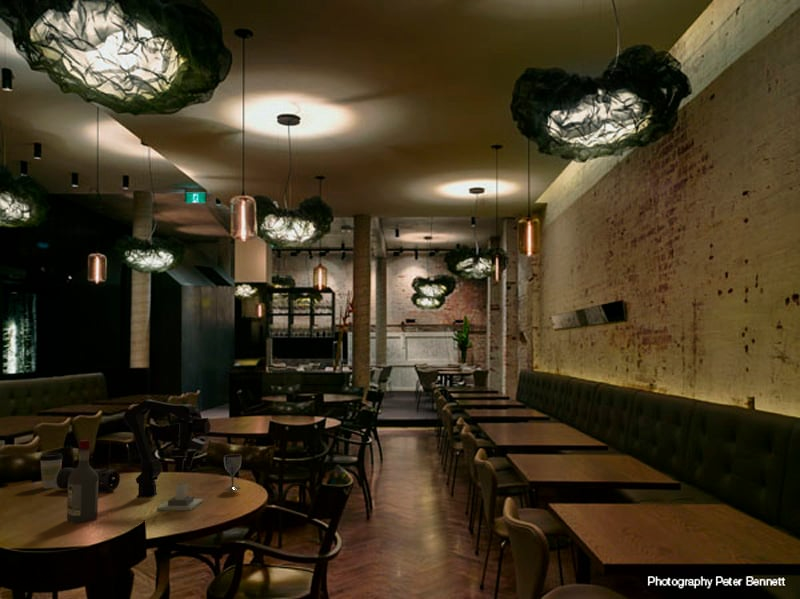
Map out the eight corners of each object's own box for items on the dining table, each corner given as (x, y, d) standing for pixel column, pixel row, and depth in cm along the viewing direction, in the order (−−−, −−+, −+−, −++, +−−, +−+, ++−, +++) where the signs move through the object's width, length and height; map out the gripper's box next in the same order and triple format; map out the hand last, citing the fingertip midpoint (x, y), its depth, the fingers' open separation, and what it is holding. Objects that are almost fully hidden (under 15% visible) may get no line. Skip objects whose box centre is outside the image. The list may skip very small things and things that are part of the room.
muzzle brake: (106, 495, 275) (107, 471, 276) (52, 492, 280) (52, 469, 281) (120, 490, 284) (120, 467, 285) (67, 487, 290) (68, 465, 290)
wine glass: (230, 491, 280) (231, 458, 281) (219, 489, 284) (220, 456, 285) (244, 488, 286) (245, 455, 287) (234, 485, 291) (234, 453, 292)
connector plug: (175, 504, 254) (175, 483, 255) (178, 502, 258) (179, 481, 258) (183, 504, 254) (183, 483, 255) (186, 502, 258) (187, 481, 258)
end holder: (157, 510, 249) (157, 502, 249) (171, 501, 263) (171, 494, 263) (191, 510, 248) (191, 502, 249) (203, 501, 262) (203, 494, 263)
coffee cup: (33, 488, 288) (34, 456, 289) (50, 484, 297) (51, 452, 298) (50, 489, 285) (51, 457, 286) (67, 485, 295) (68, 453, 296)
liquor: (89, 515, 243) (91, 438, 245) (99, 519, 237) (101, 440, 239) (64, 520, 236) (66, 440, 238) (75, 524, 230) (77, 443, 232)
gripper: (195, 436, 262) (195, 473, 261) (211, 430, 281) (210, 465, 280) (170, 436, 263) (169, 473, 262) (187, 430, 281) (186, 465, 280)
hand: (185, 469), depth 271 cm, fingers open, 9 cm apart
